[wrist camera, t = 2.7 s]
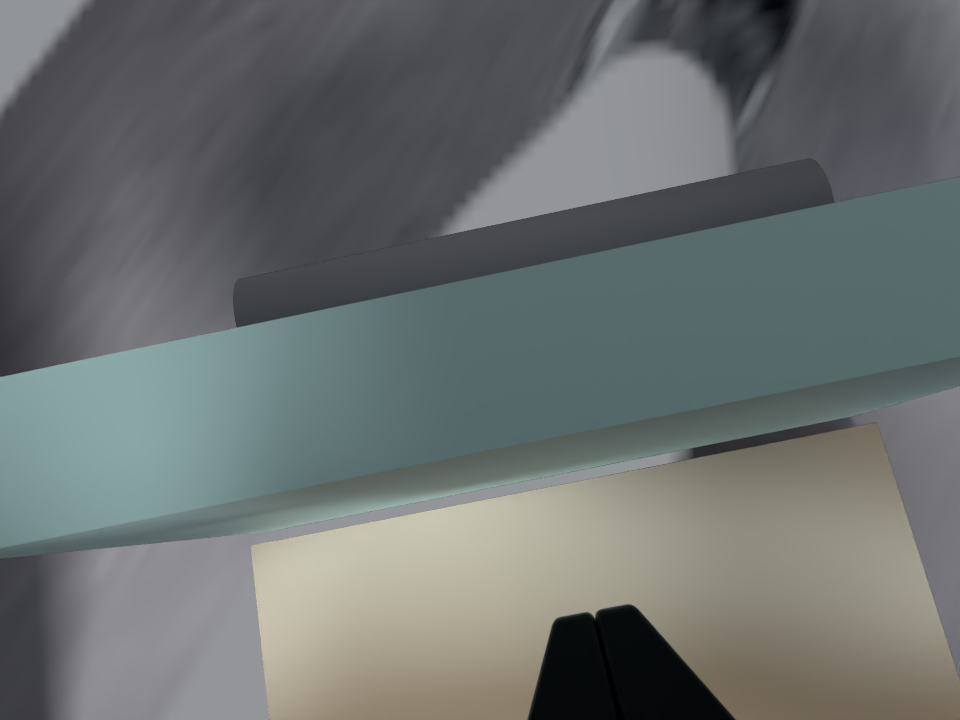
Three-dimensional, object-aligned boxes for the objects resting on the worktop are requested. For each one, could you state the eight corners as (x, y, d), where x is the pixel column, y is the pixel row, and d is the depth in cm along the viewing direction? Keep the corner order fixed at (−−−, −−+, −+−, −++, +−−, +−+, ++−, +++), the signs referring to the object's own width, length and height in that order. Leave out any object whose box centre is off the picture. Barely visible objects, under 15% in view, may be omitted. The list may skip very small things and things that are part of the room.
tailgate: (852, 416, 16) (1302, 288, 7) (269, 531, 17) (-108, 570, 7) (820, 301, 17) (1199, 23, 7) (253, 417, 17) (-124, 306, 8)
